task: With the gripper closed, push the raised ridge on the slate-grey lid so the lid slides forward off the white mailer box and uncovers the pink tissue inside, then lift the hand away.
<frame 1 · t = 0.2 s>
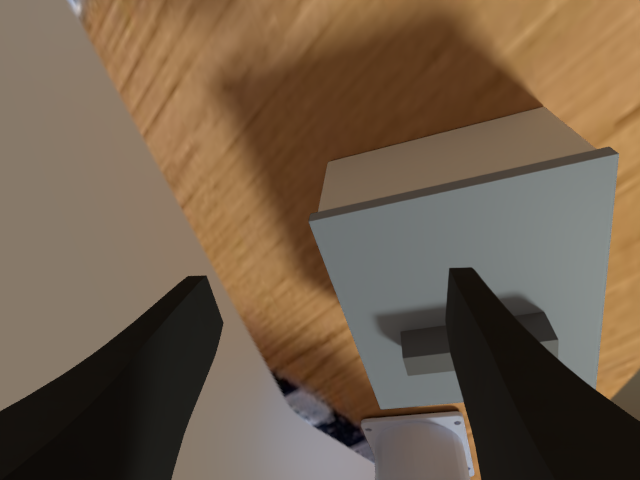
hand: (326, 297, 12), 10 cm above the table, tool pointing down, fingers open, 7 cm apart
mailer box: (446, 238, 22), on the table
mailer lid: (470, 323, 17), point 6 cm above the table, slide at 0.0 cm
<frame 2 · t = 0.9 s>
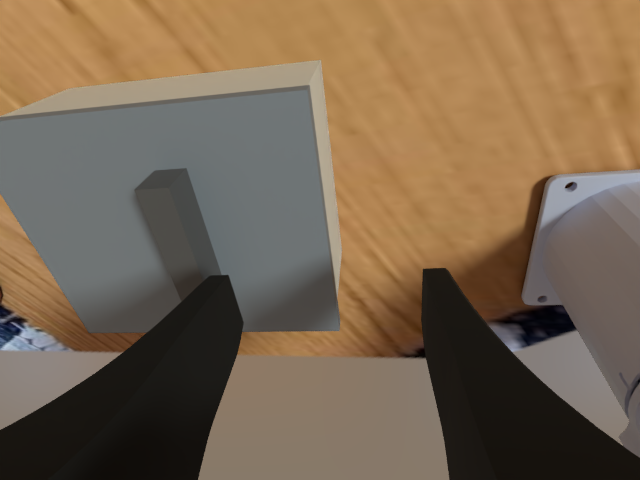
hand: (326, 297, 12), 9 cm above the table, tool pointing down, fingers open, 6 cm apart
mailer box: (218, 176, 21), on the table
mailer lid: (167, 247, 15), point 6 cm above the table, slide at 0.0 cm
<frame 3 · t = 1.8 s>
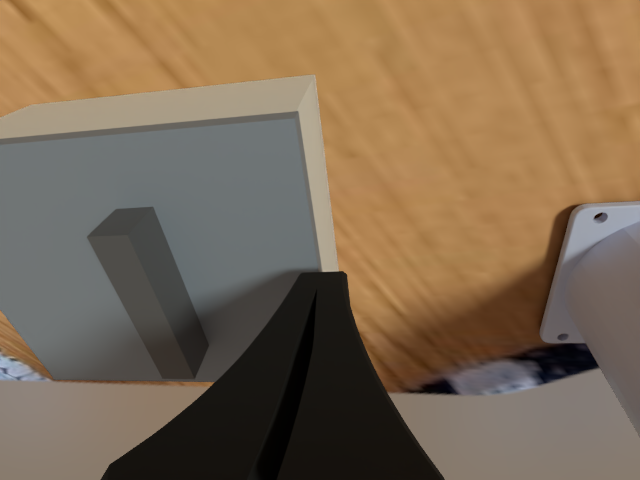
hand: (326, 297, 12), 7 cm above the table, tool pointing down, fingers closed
mailer box: (201, 202, 18), on the table
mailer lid: (134, 294, 13), point 6 cm above the table, slide at 0.0 cm
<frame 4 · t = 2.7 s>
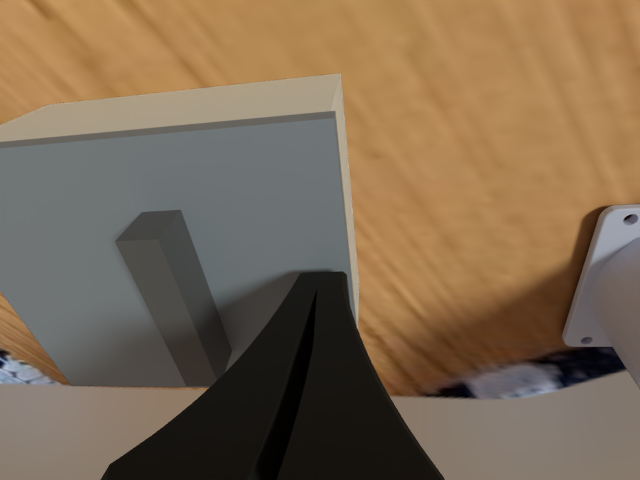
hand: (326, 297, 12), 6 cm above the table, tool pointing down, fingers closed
mailer box: (219, 203, 18), on the table
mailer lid: (158, 299, 13), point 6 cm above the table, slide at 0.0 cm
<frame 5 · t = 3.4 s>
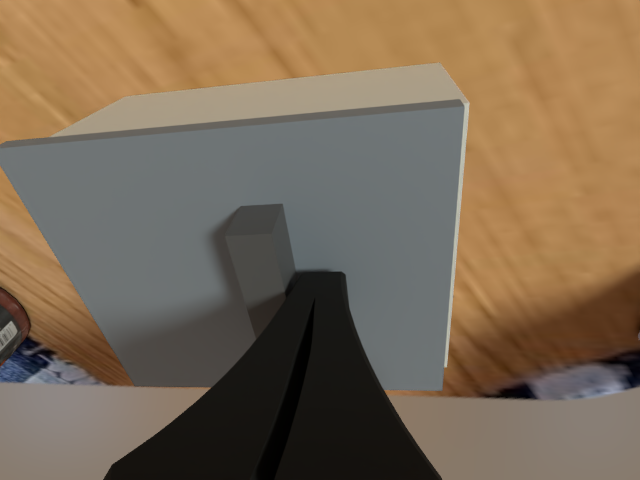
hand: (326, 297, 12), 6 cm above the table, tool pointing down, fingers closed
mailer box: (294, 199, 18), on the table
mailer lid: (246, 297, 12), point 6 cm above the table, slide at 0.5 cm, touching gripper
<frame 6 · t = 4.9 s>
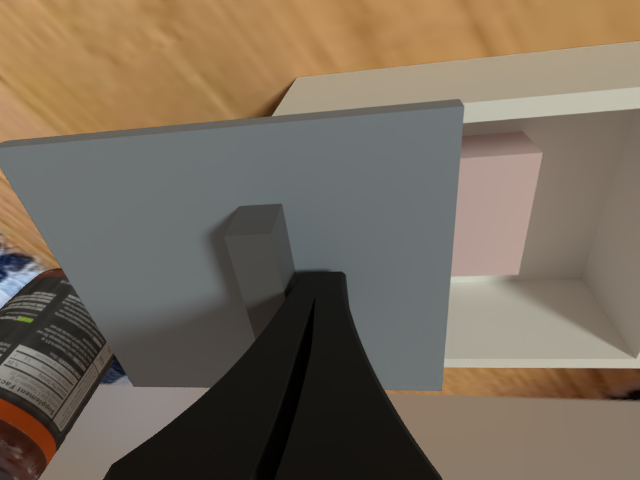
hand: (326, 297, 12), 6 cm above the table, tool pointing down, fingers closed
supplement bottle: (89, 301, 23), on the table
mailer box: (457, 189, 16), on the table
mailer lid: (246, 297, 12), point 6 cm above the table, slide at 7.4 cm, touching gripper
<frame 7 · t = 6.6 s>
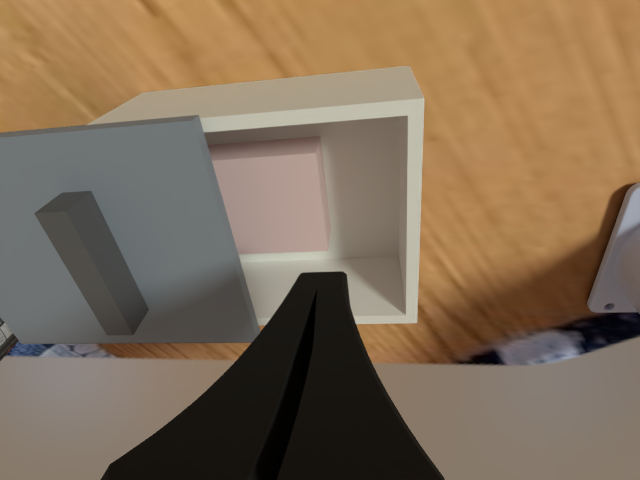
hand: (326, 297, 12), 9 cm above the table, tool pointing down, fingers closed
supplement bottle: (9, 280, 27), on the table
mailer box: (287, 182, 20), on the table
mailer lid: (81, 264, 16), point 6 cm above the table, slide at 7.5 cm
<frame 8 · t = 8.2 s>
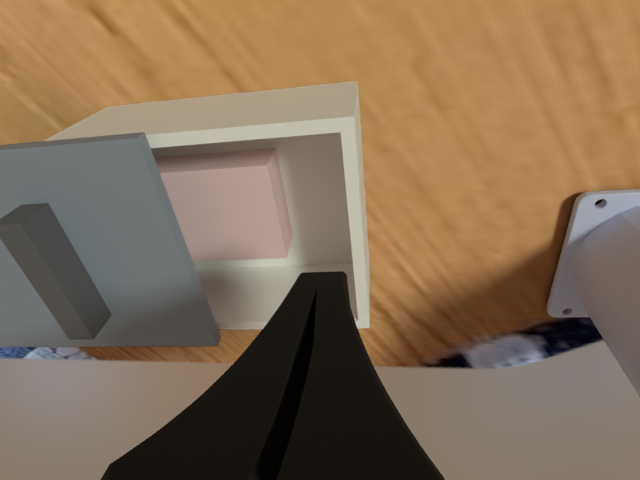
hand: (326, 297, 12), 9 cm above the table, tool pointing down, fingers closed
mailer box: (250, 191, 21), on the table
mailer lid: (43, 272, 17), point 6 cm above the table, slide at 7.5 cm
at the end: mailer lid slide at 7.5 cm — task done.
